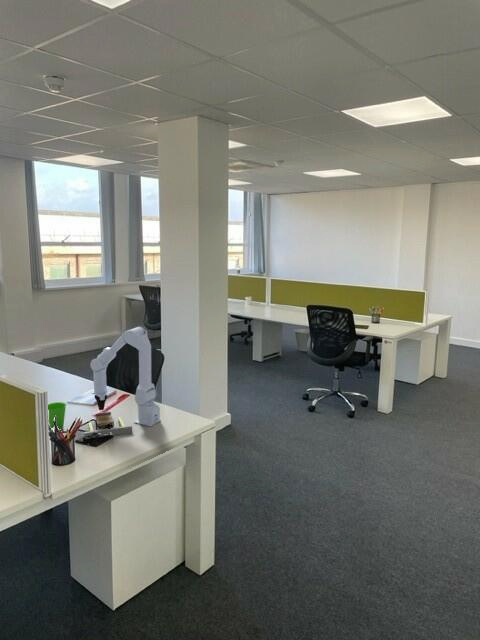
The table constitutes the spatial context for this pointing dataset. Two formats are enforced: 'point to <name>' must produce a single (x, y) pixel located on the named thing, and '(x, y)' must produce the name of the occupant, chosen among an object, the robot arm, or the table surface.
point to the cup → (57, 413)
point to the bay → (115, 431)
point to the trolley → (104, 419)
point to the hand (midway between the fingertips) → (101, 409)
